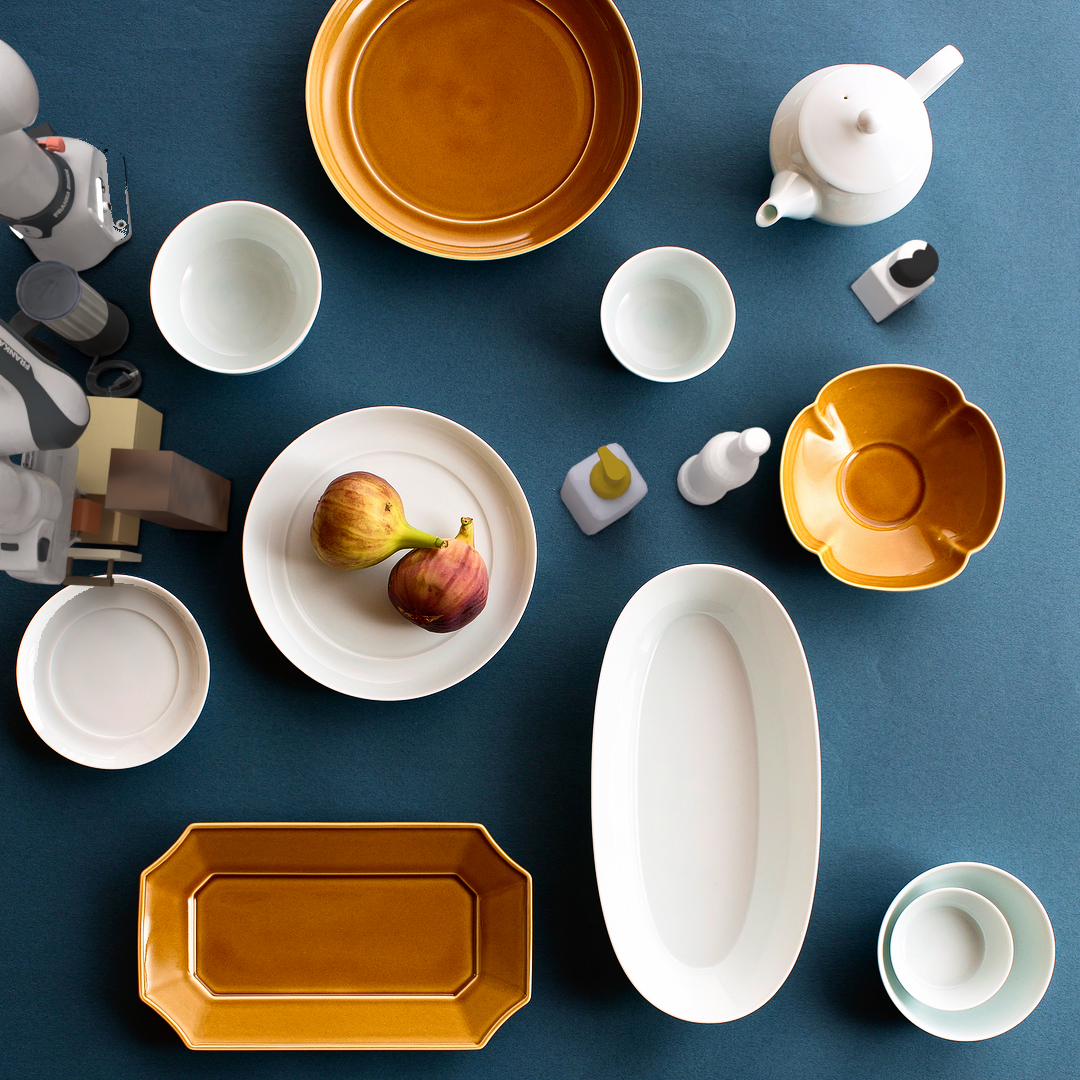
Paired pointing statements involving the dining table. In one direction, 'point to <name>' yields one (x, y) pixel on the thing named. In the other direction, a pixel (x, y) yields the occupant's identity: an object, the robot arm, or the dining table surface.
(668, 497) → the dining table surface
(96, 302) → the milk frother
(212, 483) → the stand
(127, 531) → the drawer
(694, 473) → the bottle
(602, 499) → the soap bottle
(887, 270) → the container
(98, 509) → the block
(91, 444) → the cabinet
